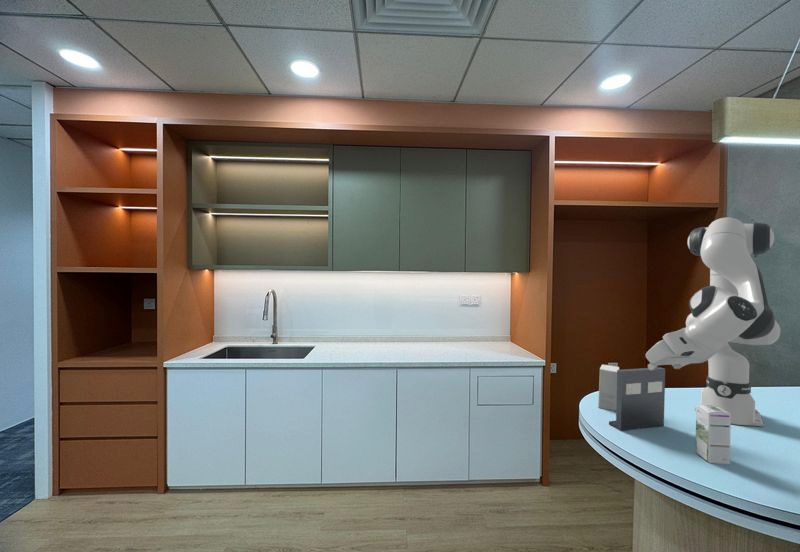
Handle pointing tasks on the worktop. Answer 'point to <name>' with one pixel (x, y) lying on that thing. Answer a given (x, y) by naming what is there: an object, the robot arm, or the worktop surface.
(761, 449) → the worktop surface
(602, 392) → the skincare box
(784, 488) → the worktop surface
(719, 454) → the syrup box
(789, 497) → the worktop surface
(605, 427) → the worktop surface
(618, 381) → the label panel
